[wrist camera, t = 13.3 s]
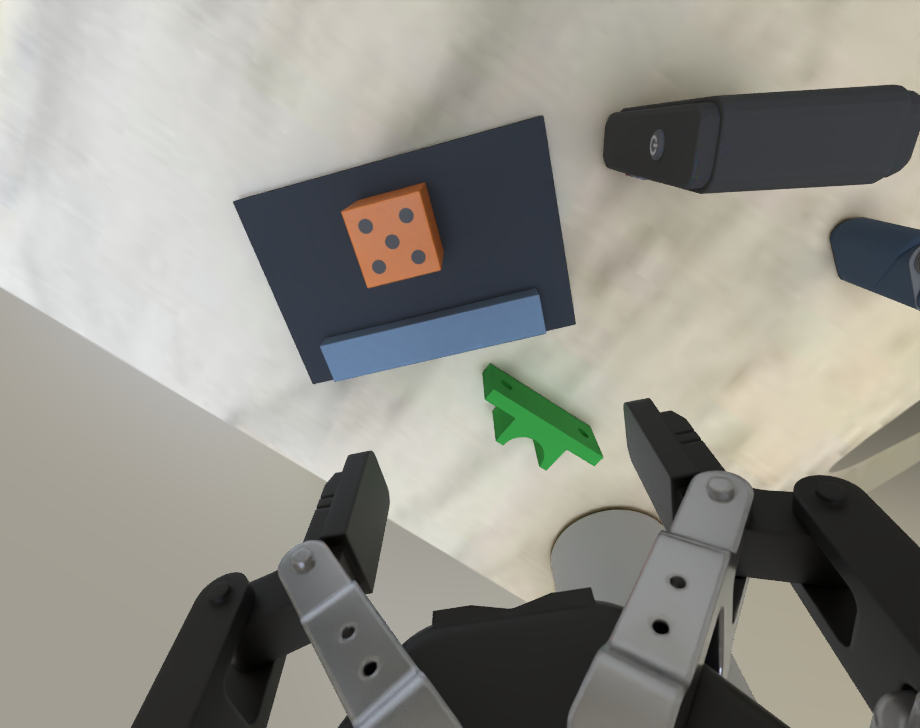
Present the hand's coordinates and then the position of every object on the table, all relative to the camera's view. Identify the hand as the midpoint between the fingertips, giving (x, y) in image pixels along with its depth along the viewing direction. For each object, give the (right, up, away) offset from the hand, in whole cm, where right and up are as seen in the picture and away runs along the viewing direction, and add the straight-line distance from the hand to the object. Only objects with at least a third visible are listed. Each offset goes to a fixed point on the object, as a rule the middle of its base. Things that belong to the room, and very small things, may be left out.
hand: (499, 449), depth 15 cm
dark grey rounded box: (+13, +18, +18) cm, 28 cm away
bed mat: (-5, +10, +21) cm, 24 cm away
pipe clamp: (+5, -1, +27) cm, 28 cm away
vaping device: (+28, +11, +21) cm, 37 cm away
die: (-5, +12, +19) cm, 23 cm away
